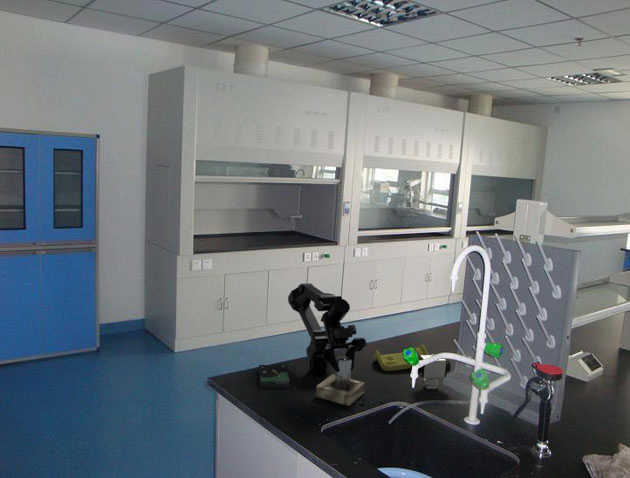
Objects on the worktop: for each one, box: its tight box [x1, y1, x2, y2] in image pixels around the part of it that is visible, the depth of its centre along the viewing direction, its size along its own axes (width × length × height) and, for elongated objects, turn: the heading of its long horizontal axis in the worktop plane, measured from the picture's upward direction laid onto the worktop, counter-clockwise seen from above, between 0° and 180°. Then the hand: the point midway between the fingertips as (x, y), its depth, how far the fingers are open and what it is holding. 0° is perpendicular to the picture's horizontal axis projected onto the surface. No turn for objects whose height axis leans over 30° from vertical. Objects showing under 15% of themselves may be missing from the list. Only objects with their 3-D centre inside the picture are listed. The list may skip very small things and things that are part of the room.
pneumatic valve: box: [417, 353, 452, 390], centre depth 179 cm, size 6×12×12 cm, turn 99°
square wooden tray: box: [315, 373, 366, 407], centre depth 169 cm, size 12×12×4 cm
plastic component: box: [372, 344, 429, 372], centre depth 198 cm, size 20×7×10 cm
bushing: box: [334, 356, 352, 391], centre depth 168 cm, size 5×5×10 cm
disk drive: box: [258, 364, 291, 389], centre depth 179 cm, size 10×3×15 cm
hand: (345, 370), depth 167 cm, fingers closed on bushing, 5 cm apart
